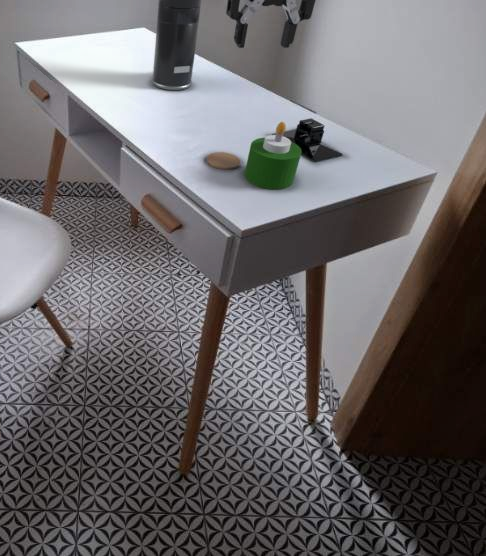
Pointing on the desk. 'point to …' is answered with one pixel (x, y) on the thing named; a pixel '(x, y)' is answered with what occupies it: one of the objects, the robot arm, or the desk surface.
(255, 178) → the candle
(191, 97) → the desk surface
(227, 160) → the coaster
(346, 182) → the desk surface
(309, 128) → the build plate
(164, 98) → the desk surface
